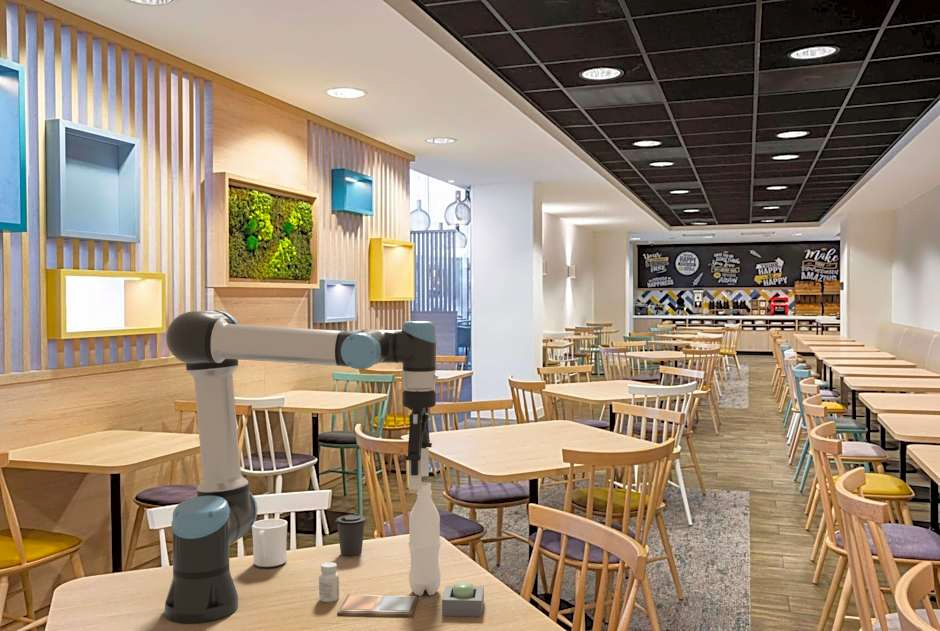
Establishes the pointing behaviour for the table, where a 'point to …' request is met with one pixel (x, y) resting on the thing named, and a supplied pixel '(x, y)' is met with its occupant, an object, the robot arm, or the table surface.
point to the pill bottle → (329, 583)
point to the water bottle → (424, 543)
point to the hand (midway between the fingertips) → (419, 482)
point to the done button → (463, 590)
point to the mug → (269, 543)
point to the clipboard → (378, 605)
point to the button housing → (463, 603)
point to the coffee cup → (350, 534)
